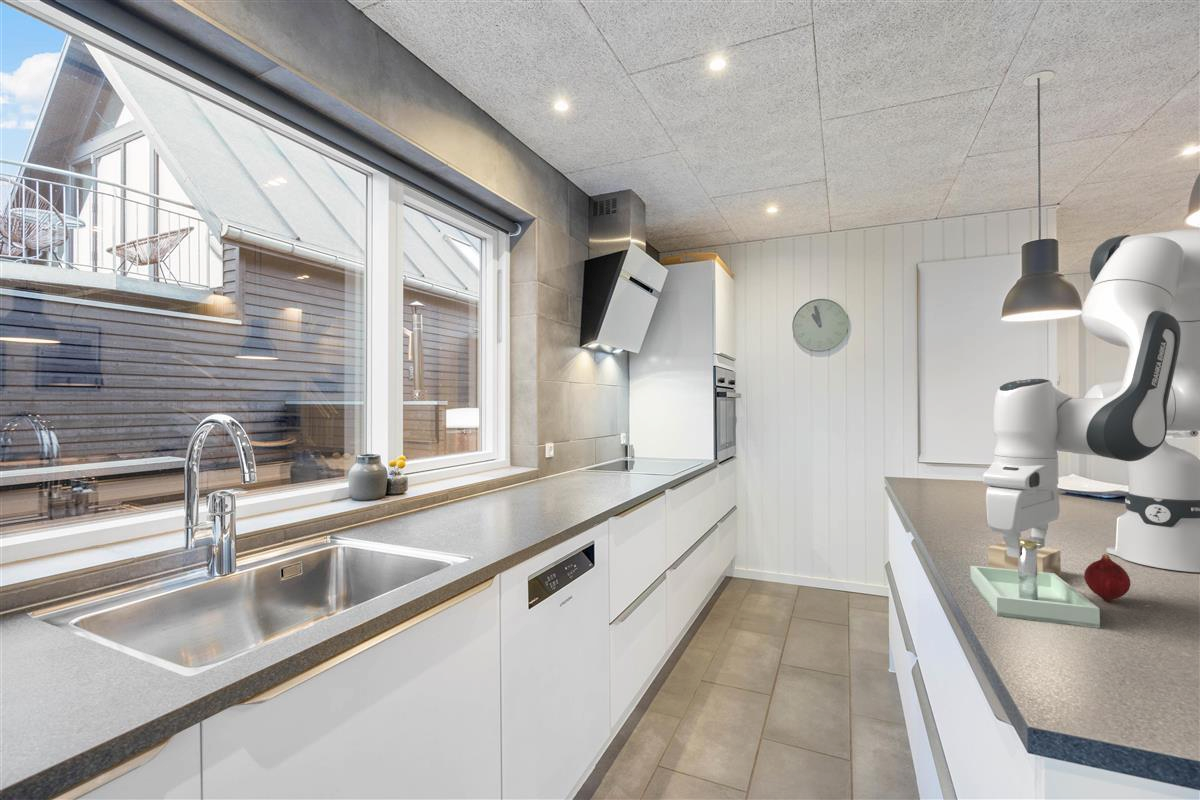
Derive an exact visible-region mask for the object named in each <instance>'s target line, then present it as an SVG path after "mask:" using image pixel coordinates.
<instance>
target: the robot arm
mask: <svg viewBox="0 0 1200 800" xmlns="http://www.w3.org/2000/svg"><path fill="white" fill-rule="evenodd" d="M1089 275H1090V279H1091V280H1092V282H1093V284H1092V286H1091V287H1090V290H1089V291H1088V293H1087V296H1086V298H1085V300H1084V301H1083V305H1082V308H1081V313H1080V314H1081V315H1080V316H1081V317H1080V318H1081V321H1082V324H1083V325H1084V327H1085V329H1087V331H1088V332H1089V333H1090V334H1091V335H1092V336H1094V337H1096V338H1098V339H1100V340H1102V341H1104V342H1106V343H1108V344H1111V345H1113V346H1118V347H1120V348H1121V347H1122V348H1126V349H1128V350H1129V355H1128V359H1127V363H1126V367H1125V372H1124V376H1123V379H1120V380H1113V381H1107V382H1101V383H1097V384H1094V385H1092V387H1090V388H1089V389H1088V390H1087V392H1086V393H1085V395H1084V397H1082V398H1081V397H1074V396H1072V395H1069V394H1066V393H1065V392H1061V390H1058V389H1057V388H1056V387H1054V386H1053V383H1052V381H1051V380H1049V379H1046V378H1045V379H1044V378H1029V379H1023V380H1021V379H1020V380H1015V381H1010V382H1005V383H1004V384H1002V385H1000V386H999V387H998V389H997V390H996V393H995V396H994V402H993V411H992V430H993V433H994V437H995V446H994V449H993V461H992V462H991V464H990V466H989V468H988V469H987V470H985V471H984V473H982V483H983V485H985V486H988V487H987V488H986V491H985V505H986V517H987V518H986V519H987V524H988V526H989V528H990V530H991V531H992V532H995V533H1001V534H1002V538H1003V540H1004V541H1005V544H1006V546H1007V555H1008V556H1010V557H1015V558H1018V557H1021V556H1022V555H1023V553H1022V551H1023V547H1022V546H1020V540H1019V539H1021V535H1022V534H1021V533H1022V532H1025V531H1028V530H1030V529H1031V534H1030V537H1029V538H1028V540H1034V541H1036V542H1037V548H1038V549H1040V548H1043V547H1046V536H1047V533H1048V531H1049V530H1048V529H1049V523H1051V522H1054V521H1057V520H1058V519H1059V517H1060V514H1061V513H1060V511H1061V509H1060V508H1061V507H1060V496H1059V495H1060V494H1059V487H1058V485H1059V455H1058V452H1062V453H1063V452H1064V453H1072V454H1077V455H1080V454H1081V455H1090V456H1100V457H1103V458H1109V459H1113V460H1119V461H1124V462H1126V470H1127V471H1126V472H1127V479H1128V480H1127V481H1128V483H1127V484H1128V492H1126V493H1125V500H1124V501H1125V509H1126V512H1125V513H1123V514H1121V515H1120V516H1118V517H1117V519H1116V528H1115V529H1116V535H1115V545H1114V546H1109V547H1106V551H1105V552H1106V553H1107V554H1110V555H1113V556H1117V557H1118V558H1121V559H1123V560H1125V561H1127V562H1128V561H1129V562H1132V563H1136V564H1139V565H1143V566H1148V567H1153V568H1157V569H1165V570H1171V571H1180V572H1189V573H1200V459H1199V458H1198V457H1197V456H1196V455H1194V454H1193V453H1192V452H1189V451H1187V450H1185V449H1183V448H1179V447H1177V446H1175V445H1174V446H1173V445H1171V444H1169V443H1168V442H1167V440H1166V437H1167V432H1168V431H1171V432H1172V431H1173V432H1174V431H1175V432H1176V431H1178V432H1179V431H1180V432H1181V431H1185V432H1187V431H1188V432H1198V431H1199V432H1200V229H1199V228H1197V229H1196V228H1195V229H1194V228H1193V229H1192V228H1190V229H1187V228H1186V229H1173V230H1171V231H1160V232H1159V231H1158V232H1150V233H1142V234H1136V235H1131V234H1124V235H1119V236H1115V237H1111V238H1108V239H1106V240H1105V241H1103V242H1102V243H1101V244H1100V245H1098V246H1097V247H1096V249H1095V251H1094V252H1093V254H1092V257H1091V260H1090V264H1089ZM1004 541H1003V542H1004Z"/></svg>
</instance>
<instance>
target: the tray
mask: <svg viewBox="0 0 1200 800" xmlns="http://www.w3.org/2000/svg"><path fill="white" fill-rule="evenodd" d="M1037 574H1038V600H1030V599H1021V598H1019V578H1018V570H1012V569H1001V568H991V567H988V566H979V565H978V566H977V565H970V582H971V584H972V585H973V586H974V588H975V589H976V590H977V591H978V593H979V594H980V596H981V597H982V599H984V600H985V602H986V603H987V604H988V605H989V607H990V608H991V609H992V611H993V612H994V614H995V615H996V616H997V617H1007V618H1012V619H1013V618H1014V619H1021V620H1031V621H1037V622H1046V623H1054V624H1061V625H1068V626H1069V625H1071V626H1079V627H1086V628H1096V629H1100V628H1101V626H1100V625H1101V623H1100V622H1101V619H1100V618H1101V617H1100V615H1101V614H1100V612H1101V611H1100V608H1099V607H1098V606H1097V605H1096V604H1094V603H1093V602H1092V601H1090V600H1089V599H1088V598H1087V597H1085V596H1084V595H1083V594H1082V593H1080V592H1079V591H1078V590H1076V589H1075V588H1074V587H1072V586H1071V584H1069V583H1067V582H1066V581H1065V580H1063V579H1062V578H1061V577H1060V576H1057V575H1056V574H1055V573H1045V572H1037Z"/></svg>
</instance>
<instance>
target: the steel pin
mask: <svg viewBox="0 0 1200 800" xmlns="http://www.w3.org/2000/svg"><path fill="white" fill-rule="evenodd" d="M1019 540H1020V546H1022V547H1023V551H1022V553H1023V555H1022V556H1021V557H1018V578H1019V598H1021V599H1030V600H1038V574H1037V542H1036V541H1034V540H1029V538H1028V539H1027V538H1026V539H1025V538H1019Z"/></svg>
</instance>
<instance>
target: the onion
mask: <svg viewBox="0 0 1200 800" xmlns="http://www.w3.org/2000/svg"><path fill="white" fill-rule="evenodd" d="M1083 575H1084V576H1083V578H1084V582H1085V584H1086V585H1087V586H1088V588H1089V589H1090V590H1091V591H1092V592H1093V593H1094V594H1096V595H1097V597H1099V598H1100V599H1102V600H1103V601H1105V602H1112V601H1114V600H1116V599H1119V598H1122V597H1123V596H1125V595H1126V594H1127V593H1128V592H1129V590H1130V589H1131V588H1130V587H1131V579H1130V576H1129V574H1128V572H1127V571H1126V570H1125V569H1124V568H1123V567H1122V566H1121V565H1119V564H1118V563H1117V562H1115V561H1113V560H1112V559H1111V557H1110V556H1109V555H1108V554H1106V553H1104V554H1102V556H1101V558H1100V559H1098V560H1096V561H1094V562H1092V563H1090V564H1089V565H1088V566H1087V567H1086V569H1085V571H1084V573H1083Z"/></svg>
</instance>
